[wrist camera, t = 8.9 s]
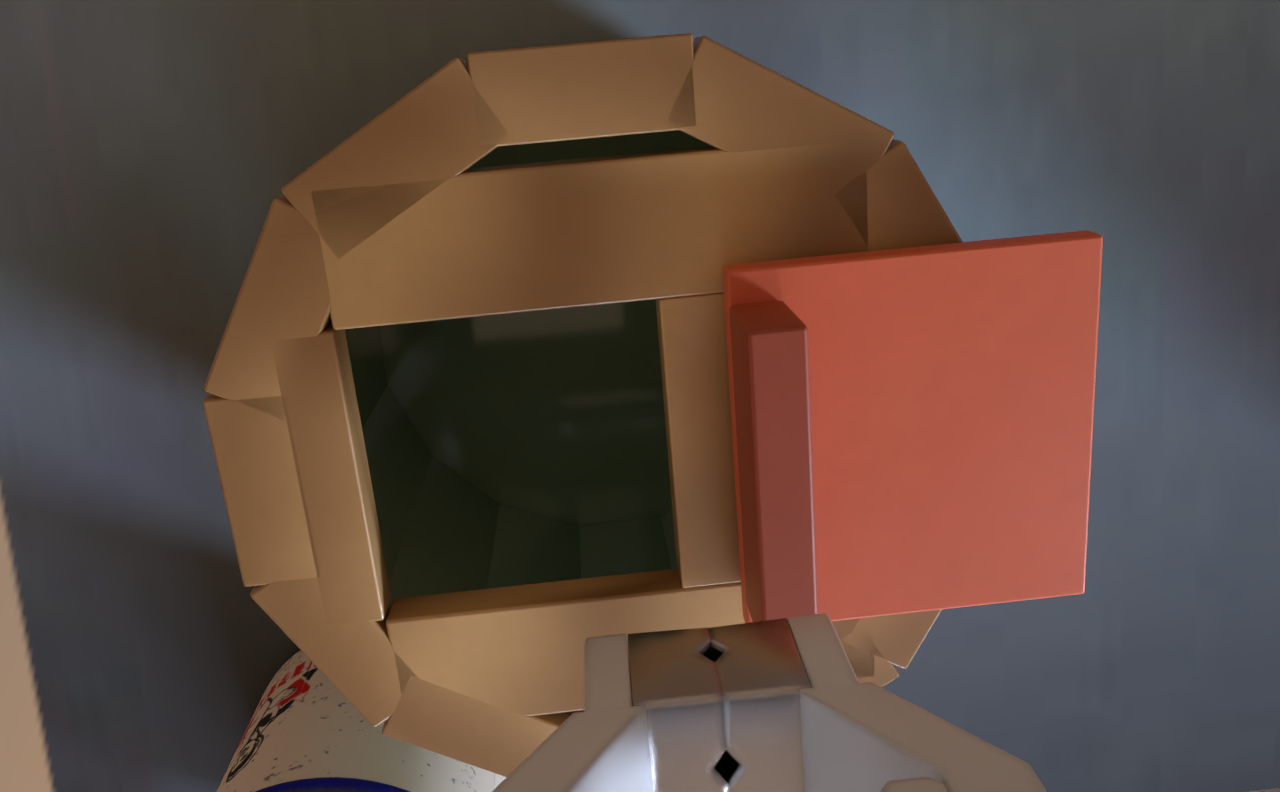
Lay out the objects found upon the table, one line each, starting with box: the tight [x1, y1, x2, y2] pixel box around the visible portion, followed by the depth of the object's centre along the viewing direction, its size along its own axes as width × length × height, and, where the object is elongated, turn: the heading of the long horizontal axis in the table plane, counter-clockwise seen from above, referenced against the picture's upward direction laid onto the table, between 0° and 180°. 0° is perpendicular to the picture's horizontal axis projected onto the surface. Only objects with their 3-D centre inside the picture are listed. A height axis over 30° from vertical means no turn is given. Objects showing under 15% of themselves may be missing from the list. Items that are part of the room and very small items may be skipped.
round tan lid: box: [203, 33, 962, 777], centre depth 21 cm, size 15×15×1 cm
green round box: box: [345, 130, 711, 609], centre depth 26 cm, size 14×14×11 cm
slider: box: [722, 231, 1103, 623], centre depth 19 cm, size 7×7×3 cm
